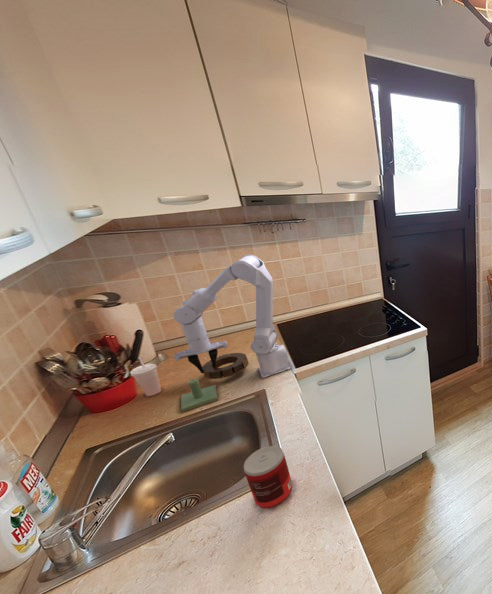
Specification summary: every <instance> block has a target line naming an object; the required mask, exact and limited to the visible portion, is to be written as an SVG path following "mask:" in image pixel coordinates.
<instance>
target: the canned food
mask: <svg viewBox="0 0 492 594" xmlns="http://www.w3.org/2000/svg"><path fill="white" fill-rule="evenodd" d="M243 463H244V464H243V471H244V474H245V477H246V480H247V484H248V486H249V489H250V492H251V495H252V498H253V500H254V503H255V505H257V507H259V508H261V509H263V510H264V509H265V510H267V509H273V508H276V507H277V506H280V505H281V504H282V503H284V502H285V501H286V500H287V499H288V498H289V497H290V495H291V493H292V490H293V481H292V477H291V474H290V470H289V466H288V463H287V459H286V455H285V453H284V451H283V449H282V448H281V446H278V445H268V446H264V447H262V448H259V449H257V450H256V451H254V452H253V453H251V454H250V455H249V456H248V457H247V458H246V459H245V461H244V462H243Z"/></svg>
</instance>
